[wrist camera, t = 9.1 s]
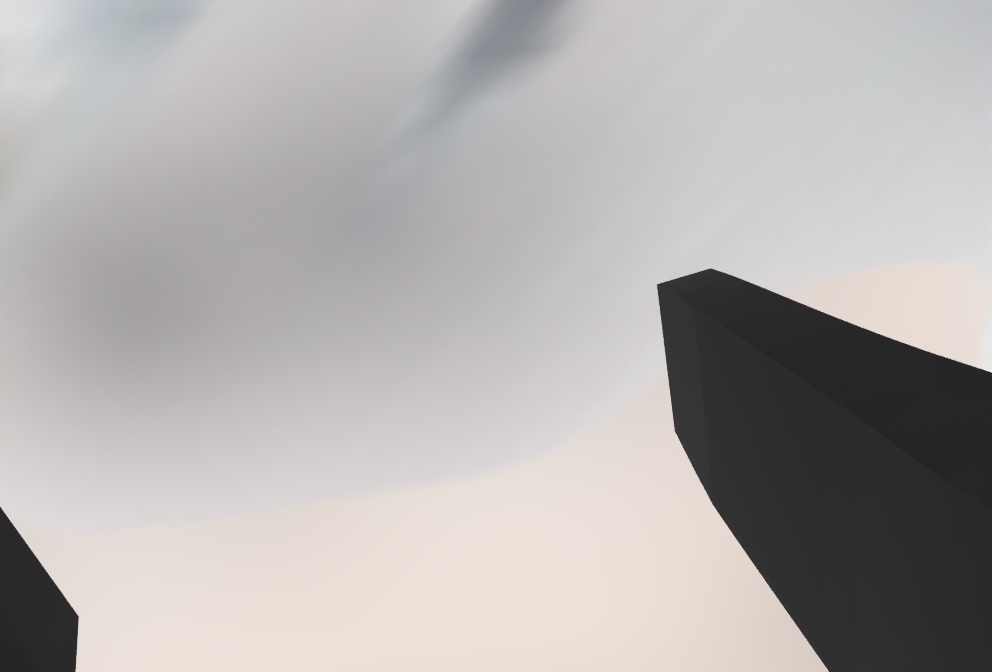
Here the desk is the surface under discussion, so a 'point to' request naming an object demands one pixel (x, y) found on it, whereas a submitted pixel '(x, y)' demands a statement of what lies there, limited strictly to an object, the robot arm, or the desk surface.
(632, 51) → the desk surface
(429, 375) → the desk surface
